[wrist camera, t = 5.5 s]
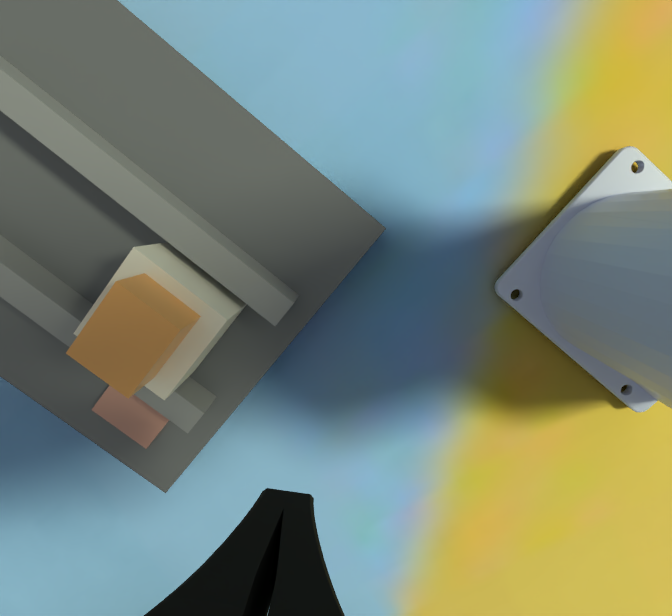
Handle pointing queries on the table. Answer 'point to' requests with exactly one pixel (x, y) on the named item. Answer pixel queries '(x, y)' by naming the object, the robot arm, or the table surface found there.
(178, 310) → the lever
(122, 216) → the breaker panel
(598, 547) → the table surface
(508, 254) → the table surface
